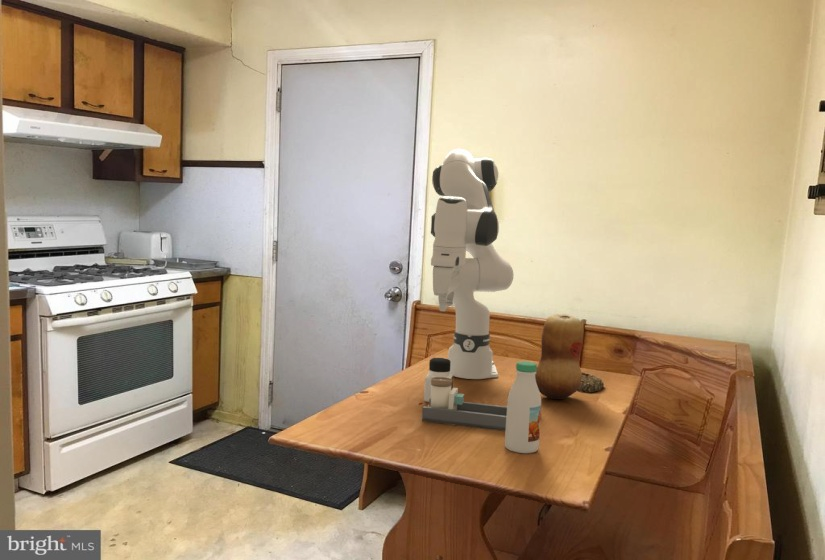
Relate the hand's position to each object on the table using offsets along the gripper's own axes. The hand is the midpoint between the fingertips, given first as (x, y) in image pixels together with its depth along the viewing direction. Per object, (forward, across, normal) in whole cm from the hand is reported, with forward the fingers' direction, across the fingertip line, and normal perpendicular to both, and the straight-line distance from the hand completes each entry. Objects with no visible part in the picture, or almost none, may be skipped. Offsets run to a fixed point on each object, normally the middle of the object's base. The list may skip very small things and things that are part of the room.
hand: (446, 308), depth 174 cm
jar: (+26, +10, +2) cm, 28 cm away
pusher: (+26, +10, +6) cm, 29 cm away
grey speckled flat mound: (+29, -38, +38) cm, 61 cm away
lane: (+27, +10, +10) cm, 31 cm away
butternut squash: (+28, -21, +31) cm, 47 cm away
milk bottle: (+27, +25, +24) cm, 44 cm away
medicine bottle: (+28, -6, -2) cm, 29 cm away
